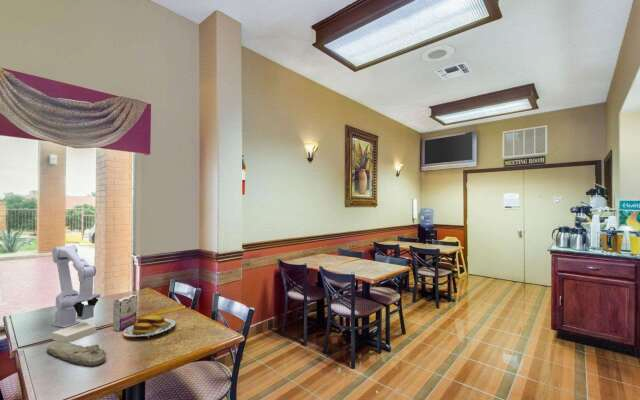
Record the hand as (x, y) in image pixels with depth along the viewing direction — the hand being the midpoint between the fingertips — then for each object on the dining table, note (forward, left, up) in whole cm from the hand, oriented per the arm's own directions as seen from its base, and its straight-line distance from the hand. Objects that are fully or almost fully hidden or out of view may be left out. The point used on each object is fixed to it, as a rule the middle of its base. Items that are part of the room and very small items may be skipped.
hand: (85, 314), depth 159 cm
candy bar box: (+15, +11, -9) cm, 21 cm away
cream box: (+2, -6, -9) cm, 11 cm away
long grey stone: (+23, -20, -9) cm, 32 cm away
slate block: (0, 0, -2) cm, 2 cm away
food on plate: (+32, +12, -9) cm, 35 cm away
